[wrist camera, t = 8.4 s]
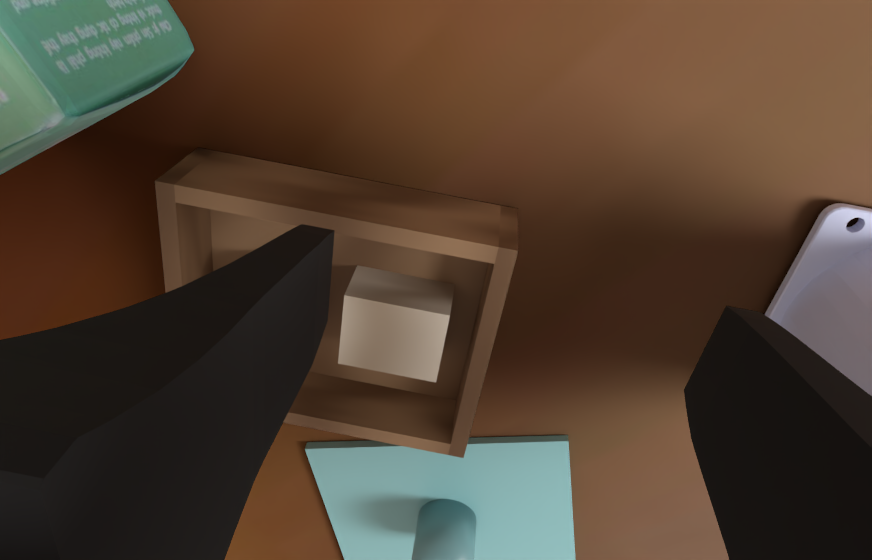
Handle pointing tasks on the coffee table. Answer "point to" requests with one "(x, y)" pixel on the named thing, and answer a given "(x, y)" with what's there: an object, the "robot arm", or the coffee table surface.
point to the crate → (361, 287)
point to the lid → (448, 499)
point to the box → (79, 66)
